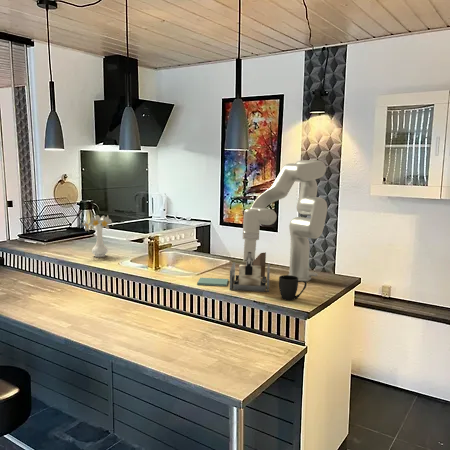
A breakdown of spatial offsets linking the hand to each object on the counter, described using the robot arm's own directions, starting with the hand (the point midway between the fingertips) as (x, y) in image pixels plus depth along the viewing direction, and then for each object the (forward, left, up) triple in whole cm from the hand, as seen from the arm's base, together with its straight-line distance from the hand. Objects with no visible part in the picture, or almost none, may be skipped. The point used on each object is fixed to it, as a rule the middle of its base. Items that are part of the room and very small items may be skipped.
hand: (249, 272), depth 206 cm
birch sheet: (0, 0, -8) cm, 8 cm away
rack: (0, -6, -8) cm, 10 cm away
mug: (-19, +13, -8) cm, 25 cm away
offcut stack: (0, -9, -8) cm, 12 cm away
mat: (+18, -7, -8) cm, 21 cm away
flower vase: (+93, -53, -8) cm, 107 cm away
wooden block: (-2, -20, -8) cm, 22 cm away
